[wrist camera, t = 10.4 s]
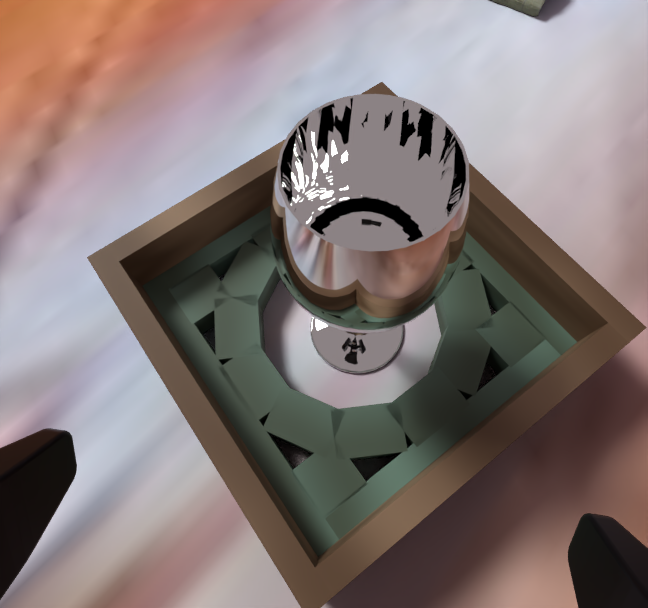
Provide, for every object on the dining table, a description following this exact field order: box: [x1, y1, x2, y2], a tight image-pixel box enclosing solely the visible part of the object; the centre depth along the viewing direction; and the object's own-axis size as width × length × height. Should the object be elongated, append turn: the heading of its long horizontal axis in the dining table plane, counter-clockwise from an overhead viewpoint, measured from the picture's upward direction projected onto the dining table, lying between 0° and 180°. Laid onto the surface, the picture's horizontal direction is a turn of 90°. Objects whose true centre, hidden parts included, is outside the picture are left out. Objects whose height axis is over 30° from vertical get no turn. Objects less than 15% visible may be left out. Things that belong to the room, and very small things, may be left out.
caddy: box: [87, 82, 646, 608], centre depth 21 cm, size 16×16×4 cm
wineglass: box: [270, 94, 470, 373], centre depth 17 cm, size 6×6×12 cm
